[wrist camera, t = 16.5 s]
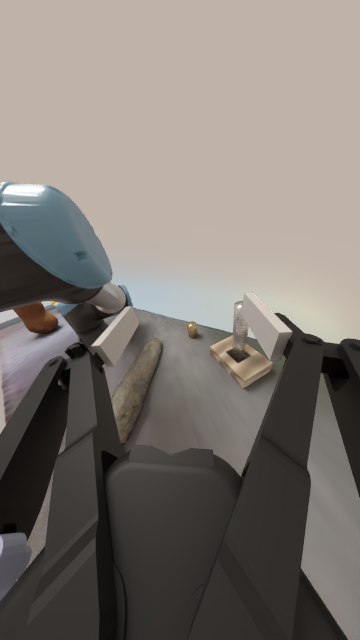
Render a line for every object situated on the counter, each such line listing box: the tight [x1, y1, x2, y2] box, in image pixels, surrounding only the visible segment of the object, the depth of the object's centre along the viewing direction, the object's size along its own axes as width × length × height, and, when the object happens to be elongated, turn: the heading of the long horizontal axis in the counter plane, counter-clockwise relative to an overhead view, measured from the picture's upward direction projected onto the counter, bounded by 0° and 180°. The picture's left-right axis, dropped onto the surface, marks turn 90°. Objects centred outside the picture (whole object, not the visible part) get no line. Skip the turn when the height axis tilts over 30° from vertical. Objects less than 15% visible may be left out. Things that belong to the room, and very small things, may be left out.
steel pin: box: [232, 301, 249, 363], centre depth 34 cm, size 4×4×20 cm
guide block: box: [210, 335, 273, 389], centre depth 39 cm, size 14×10×4 cm
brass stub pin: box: [187, 322, 197, 338], centre depth 52 cm, size 4×4×6 cm
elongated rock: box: [111, 339, 162, 444], centre depth 39 cm, size 35×5×10 cm
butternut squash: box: [13, 302, 58, 334], centre depth 74 cm, size 14×13×25 cm
